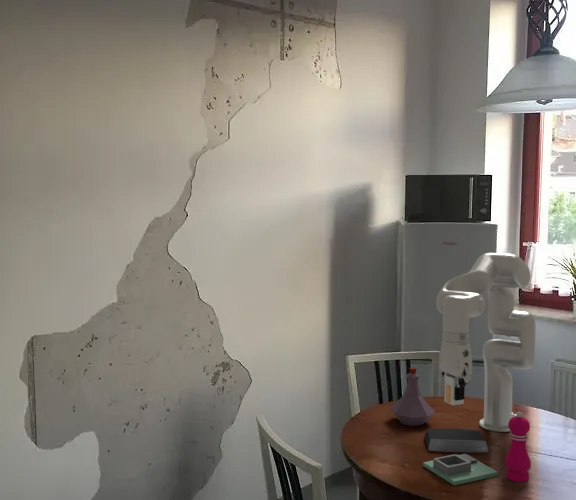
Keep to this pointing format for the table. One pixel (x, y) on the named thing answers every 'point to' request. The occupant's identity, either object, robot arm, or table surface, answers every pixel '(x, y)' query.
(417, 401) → the flask
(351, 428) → the table surface
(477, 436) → the external hard drive
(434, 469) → the board
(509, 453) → the pepper mill
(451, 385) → the plug
